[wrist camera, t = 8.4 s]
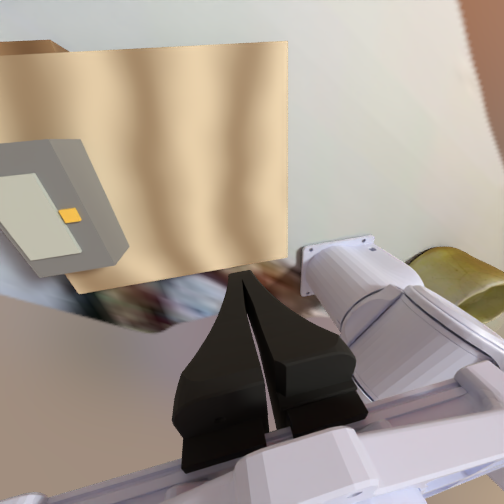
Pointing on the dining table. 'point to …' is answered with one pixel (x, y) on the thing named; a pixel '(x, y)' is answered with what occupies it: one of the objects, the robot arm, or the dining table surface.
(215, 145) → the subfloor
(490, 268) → the mug
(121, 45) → the dining table surface
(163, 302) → the dining table surface
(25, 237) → the block
